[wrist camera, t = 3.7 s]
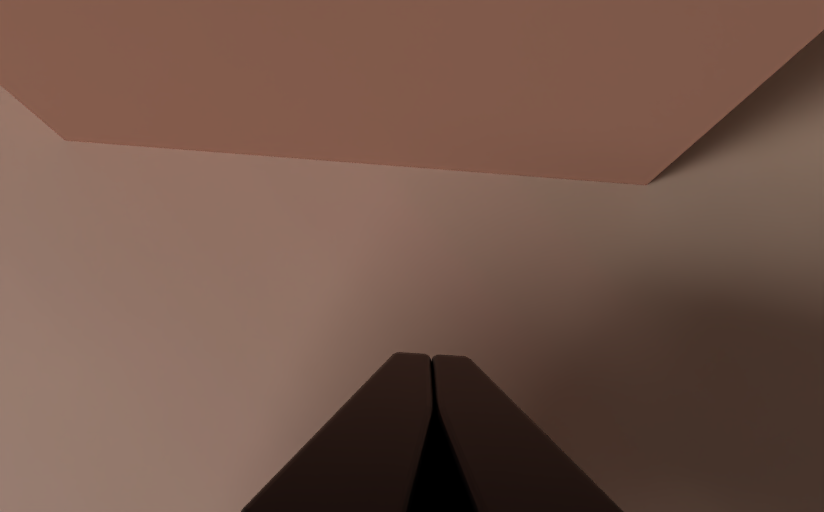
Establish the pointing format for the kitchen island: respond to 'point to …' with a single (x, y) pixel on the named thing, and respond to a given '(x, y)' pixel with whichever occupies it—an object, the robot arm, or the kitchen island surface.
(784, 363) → the kitchen island surface
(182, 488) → the kitchen island surface
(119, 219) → the kitchen island surface
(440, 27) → the terracotta block
